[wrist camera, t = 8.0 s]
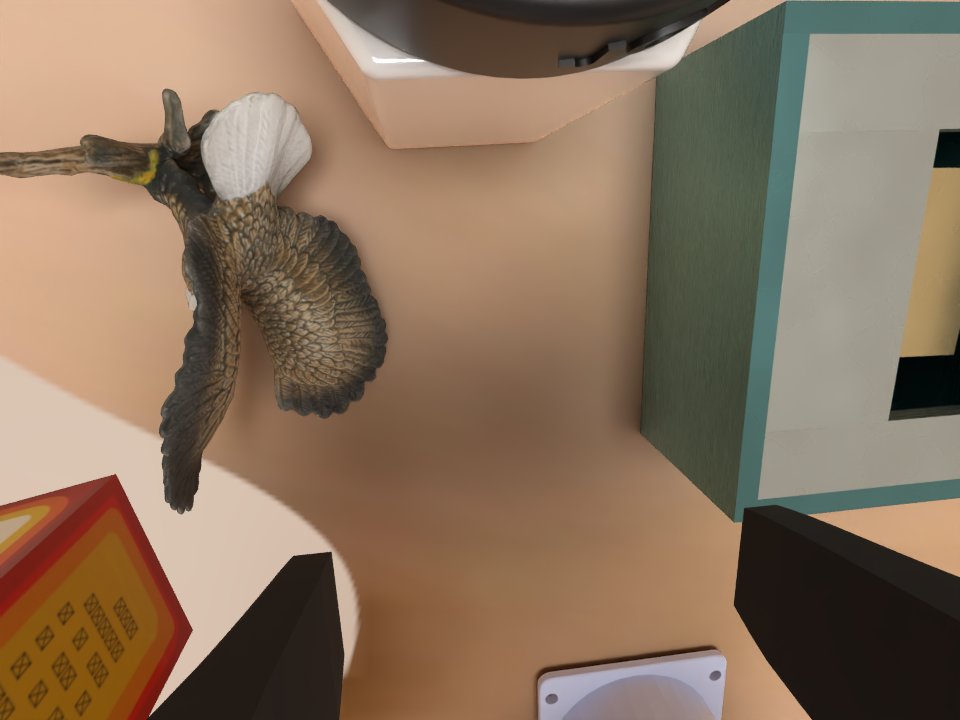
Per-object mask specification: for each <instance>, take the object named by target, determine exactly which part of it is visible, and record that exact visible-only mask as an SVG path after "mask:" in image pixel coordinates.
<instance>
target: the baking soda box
mask: <svg viewBox="0 0 960 720" xmlns="http://www.w3.org/2000/svg"><path fill="white" fill-rule="evenodd" d="M192 631H193V629H192V627H191V625H190V624H189V621H188V619H187V617H186V615H185V613H184V611H183V609H182V607H181V605H180V603H179V601H178V599H177V597H176V595H175V593H174V591H173V589H172V587H171V585H170V583H169V581H168V579H167V577H166V575H165V573H164V571H163V569H162V567H161V565H160V563H159V561H158V559H157V556H156V554H155V552H154V550H153V548H152V546H151V545H150V542H149V540H148V538H147V536H146V535H145V532H144V530H143V528H142V526H141V525H140V522H139V520H138V518H137V516H136V514H135V512H134V510H133V508H132V506H131V504H130V502H129V500H128V498H127V496H126V494H125V492H124V490H123V488H122V485H121V484H120V482H119V479H118V478H117V476H116V474H115V475H111V476H108V477H104V478H100V479H97V480H93V481H89V482H86V483H82V484H78V485H75V486H71V487H68V488H64V489H60V490H57V491H53V492H49V493H46V494H42V495H38V496H35V497H32V498H28V499H24V500H20V501H17V502H13V503H9V504H6V505H2V506H0V720H146V719H147V718H148V717H149V715H150V713H151V711H152V709H153V707H154V705H155V703H156V701H157V699H158V697H159V695H160V693H161V691H162V689H163V687H164V685H165V683H166V681H167V680H168V677H169V676H170V674H171V672H172V670H173V668H174V666H175V664H176V662H177V660H178V658H179V656H180V654H181V652H182V650H183V648H184V646H185V644H186V642H187V640H188V638H189V636H190V635H191V632H192Z"/></svg>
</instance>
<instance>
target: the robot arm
mask: <svg viewBox="0 0 960 720" xmlns="http://www.w3.org/2000/svg"><path fill="white" fill-rule="evenodd" d="M734 606H735V608H736V610H737V612H738V613H739V615H740V617H741V619H742V620H743V622H744V624H745V626H746V627H747V629H748V631H749V633H750V634H751V636H752V638H753V639H754V641H755V642H756V644H757V646H758V647H759V649H760V650H761V652H762V654H763V655H764V657H765V658H766V660H767V661H768V663H769V664H770V665H771V667H772V668H773V669H774V671H775V672H776V673H777V675H778V676H779V677H780V679H781V680H782V681H783V683H784V684H785V685H786V687H787V688H788V689H789V690H790V692H791V693H792V694H793V696H794V697H795V698H796V700H797V701H798V702H799V704H800V705H801V706H802V707H803V709H804V710H805V711H806V713H807V714H808V715H809V716H810V718H811V719H812V720H960V577H958V576H955V575H953V574H950V573H947V572H945V571H942V570H940V569H937V568H935V567H932V566H930V565H927V564H925V563H923V562H920V561H918V560H915V559H913V558H910V557H908V556H905V555H903V554H901V553H898V552H896V551H893V550H891V549H888V548H886V547H884V546H881V545H879V544H876V543H874V542H872V541H869V540H867V539H865V538H862V537H860V536H857V535H855V534H852V533H850V532H848V531H845V530H843V529H840V528H838V527H836V526H833V525H831V524H828V523H826V522H823V521H821V520H818V519H816V518H813V517H811V516H808V515H805V514H803V513H800V512H797V511H794V510H791V509H788V508H785V507H782V506H779V505H767V506H758V507H748V508H744V513H743V522H742V532H741V541H740V551H739V560H738V570H737V579H736V589H735V598H734ZM343 666H344V648H343V641H342V632H341V624H340V616H339V609H338V600H337V592H336V585H335V576H334V568H333V560H332V552H325V553H316V554H307V555H298V556H293V557H292V558H291V559H290V560H289V561H288V562H287V564H286V565H285V566H284V567H283V568H282V569H281V570H280V572H279V573H278V574H277V575H276V576H275V578H274V579H273V580H272V581H271V582H270V584H269V585H268V586H267V587H266V589H265V590H264V591H263V592H262V593H261V594H260V596H259V597H258V598H257V599H256V600H255V602H254V603H253V604H252V605H251V606H250V608H249V609H248V610H247V611H246V612H245V614H244V615H243V616H242V617H241V618H240V619H239V621H238V622H237V623H236V624H235V625H234V626H233V627H232V628H231V630H230V631H229V632H228V633H227V634H226V636H225V637H224V638H223V639H222V640H221V641H220V642H219V643H218V645H217V646H216V647H215V648H214V649H213V650H212V651H211V652H210V654H209V655H208V656H207V657H206V658H205V659H204V660H203V661H202V662H201V664H199V666H198V667H197V668H196V669H195V670H194V671H193V672H192V673H191V674H190V675H189V676H188V677H187V678H186V679H185V680H184V681H183V682H182V683H181V684H180V686H178V688H177V689H176V690H175V691H174V692H173V693H172V694H171V695H170V696H169V697H168V698H167V699H166V700H165V701H164V702H163V703H162V704H161V705H160V706H159V707H158V709H156V711H154V712H153V713H152V715H151V716H150V717H148V718H147V719H146V720H339V715H340V704H341V692H342V680H343ZM726 668H727V660H726V659H725V657H724V656H723V654H722V653H721V652H720V651H718V650H706V651H699V652H692V653H685V654H677V655H670V656H663V657H655V658H648V659H641V660H633V661H626V662H619V663H612V664H604V665H597V666H590V667H582V668H575V669H568V670H560V671H553V672H548V673H545V674H543V675H542V676H541V677H540V678H539V680H538V720H721V715H722V706H723V696H724V687H725V677H726ZM550 694H553V695H551V696H548V695H550Z"/></svg>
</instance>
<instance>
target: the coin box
mask: <svg viewBox="0 0 960 720" xmlns="http://www.w3.org/2000/svg"><path fill="white" fill-rule="evenodd" d="M933 168H960V2H907V1H785V2H783V3H782V4H780V5H778V6H776V7H774V8H773V9H771V10H769V11H767V12H765V13H763V14H762V15H760V16H758V17H756V18H754V19H753V20H751V21H749V22H747V23H745V24H744V25H742V26H740V27H738V28H736V29H734V30H733V31H731V32H729V33H727V34H725V35H724V36H722V37H720V38H718V39H716V40H715V41H713V42H711V43H709V44H707V45H705V46H704V47H702V48H700V49H698V50H696V51H695V52H693V53H691V54H689V55H687V56H686V57H684V58H682V59H681V60H680V62H679V63H678V64H677V65H676V66H675V67H673V68H672V69H670V70H668V71H666V72H664V73H663V74H661V75H659V76H657V87H656V109H655V131H654V152H653V174H652V195H651V217H650V239H649V260H648V282H647V303H646V325H645V347H644V368H643V390H642V412H641V434H642V435H643V436H644V437H645V438H646V439H647V440H648V441H649V442H650V443H651V444H652V445H653V446H654V447H656V448H657V449H658V450H659V451H660V452H661V453H662V454H663V455H664V456H665V457H666V458H667V459H668V460H669V461H670V462H671V463H672V464H673V465H674V466H675V467H676V468H678V469H679V470H680V471H681V472H682V473H683V474H684V475H685V476H686V477H687V478H688V479H689V480H690V481H691V482H692V483H693V484H694V485H695V486H696V487H697V488H698V489H700V490H701V491H702V492H703V493H704V494H705V495H706V496H707V497H708V498H709V499H710V500H711V501H712V502H713V503H714V504H715V505H716V506H717V507H718V508H719V509H720V510H722V511H723V512H724V513H725V514H726V515H727V516H728V517H729V518H730V519H731V520H732V521H733V522H743V513H744V508H748V507H758V506H767V505H779V506H782V507H785V508H788V509H791V510H794V511H797V512H800V513H803V514H805V515H808V514H817V513H826V512H835V511H844V510H853V509H862V508H872V507H881V506H890V505H899V504H908V503H917V502H927V501H936V500H945V499H954V498H960V329H959V334H958V338H957V342H956V347H955V351H954V355H934V356H913V357H900V351H901V346H902V340H903V334H904V329H905V323H906V317H907V312H908V306H909V300H910V295H911V289H912V283H913V278H914V272H915V266H916V261H917V255H918V249H919V244H920V238H921V232H922V227H923V221H924V215H925V210H926V204H927V198H928V193H929V187H930V181H931V176H932V170H933Z"/></svg>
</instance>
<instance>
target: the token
mask: <svg viewBox="0 0 960 720" xmlns="http://www.w3.org/2000/svg"><path fill="white" fill-rule="evenodd" d="M959 329H960V168H933V170H932V176H931V181H930V187H929V193H928V198H927V204H926V210H925V215H924V221H923V227H922V232H921V238H920V244H919V249H918V255H917V261H916V266H915V272H914V278H913V283H912V289H911V295H910V300H909V306H908V312H907V317H906V323H905V329H904V334H903V340H902V346H901V351H900V357H913V356H934V355H954V351H955V347H956V342H957V338H958V334H959Z"/></svg>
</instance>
